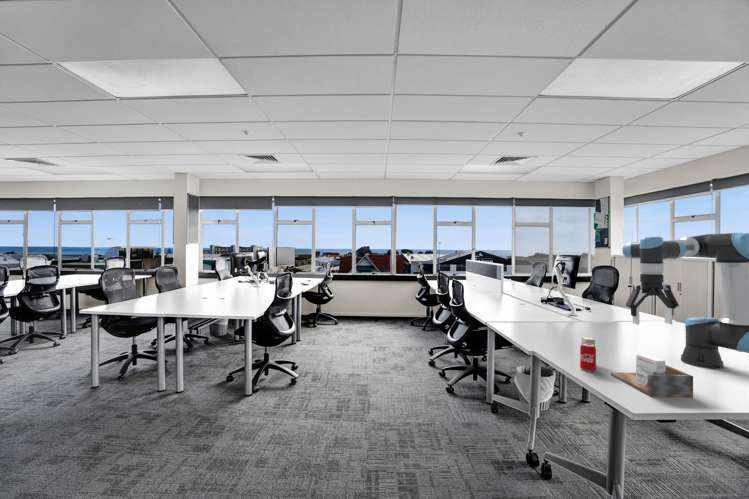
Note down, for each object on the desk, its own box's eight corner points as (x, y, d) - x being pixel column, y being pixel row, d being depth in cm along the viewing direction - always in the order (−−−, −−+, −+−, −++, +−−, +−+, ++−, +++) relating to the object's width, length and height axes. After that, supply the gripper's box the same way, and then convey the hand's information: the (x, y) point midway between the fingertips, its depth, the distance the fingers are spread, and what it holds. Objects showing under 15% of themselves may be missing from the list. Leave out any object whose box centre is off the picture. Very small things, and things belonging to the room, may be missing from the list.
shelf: (647, 375, 147) (647, 357, 147) (693, 397, 125) (693, 376, 125) (610, 375, 148) (610, 356, 148) (650, 396, 126) (650, 375, 126)
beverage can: (577, 367, 157) (577, 342, 157) (589, 367, 157) (589, 342, 157) (586, 372, 151) (586, 346, 151) (599, 372, 151) (599, 346, 151)
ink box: (666, 390, 129) (666, 360, 129) (656, 391, 128) (656, 361, 128) (645, 381, 137) (645, 353, 137) (635, 382, 136) (635, 354, 136)
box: (595, 366, 159) (595, 339, 159) (585, 365, 160) (585, 339, 160) (590, 362, 164) (590, 337, 164) (581, 362, 165) (581, 336, 165)
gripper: (673, 272, 142) (674, 321, 142) (615, 273, 142) (615, 321, 142) (689, 273, 134) (690, 325, 134) (628, 274, 135) (629, 326, 135)
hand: (652, 323), depth 138 cm, fingers open, 13 cm apart
